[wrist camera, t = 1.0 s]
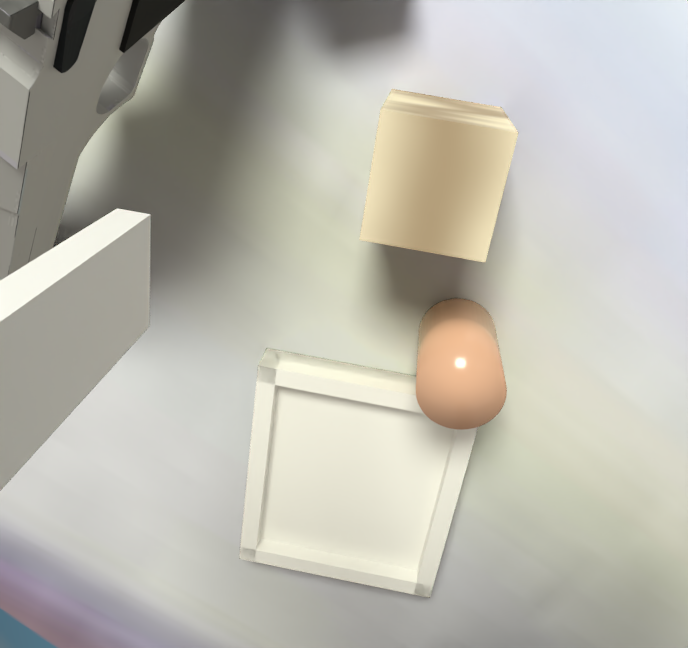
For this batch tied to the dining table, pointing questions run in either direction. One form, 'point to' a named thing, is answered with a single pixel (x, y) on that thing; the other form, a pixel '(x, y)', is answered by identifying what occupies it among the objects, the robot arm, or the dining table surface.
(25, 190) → the handgun
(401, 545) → the tray
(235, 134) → the dining table surface
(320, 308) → the dining table surface
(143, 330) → the robot arm
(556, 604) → the dining table surface
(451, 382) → the peach capsule
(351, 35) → the dining table surface
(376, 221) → the birch block
